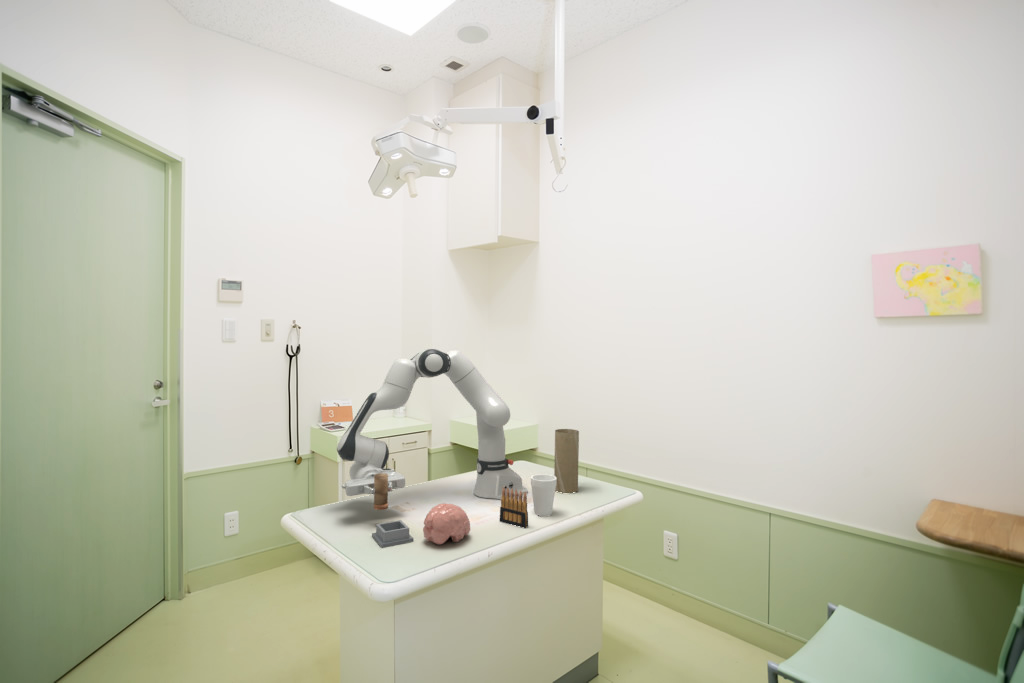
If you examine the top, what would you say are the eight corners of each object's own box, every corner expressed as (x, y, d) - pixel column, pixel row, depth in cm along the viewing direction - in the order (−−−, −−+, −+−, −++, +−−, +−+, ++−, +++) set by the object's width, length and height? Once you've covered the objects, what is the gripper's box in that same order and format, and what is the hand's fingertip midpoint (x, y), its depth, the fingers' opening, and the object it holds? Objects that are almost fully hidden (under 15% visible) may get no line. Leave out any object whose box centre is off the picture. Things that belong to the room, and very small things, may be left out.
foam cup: (524, 513, 182) (525, 477, 182) (541, 507, 189) (541, 472, 189) (545, 519, 176) (545, 482, 176) (561, 513, 183) (561, 477, 183)
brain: (446, 543, 165) (458, 505, 168) (473, 554, 156) (484, 514, 160) (409, 535, 154) (423, 495, 158) (436, 546, 145) (449, 504, 149)
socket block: (402, 530, 163) (402, 518, 163) (413, 541, 155) (413, 528, 155) (371, 536, 158) (372, 523, 158) (381, 547, 150) (381, 534, 150)
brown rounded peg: (385, 504, 172) (385, 472, 172) (389, 508, 168) (390, 475, 168) (371, 507, 169) (372, 474, 169) (376, 511, 165) (376, 477, 165)
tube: (574, 486, 217) (575, 428, 217) (580, 493, 207) (581, 433, 207) (551, 487, 216) (552, 428, 216) (556, 494, 206) (558, 433, 206)
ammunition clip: (499, 521, 173) (499, 486, 174) (502, 520, 175) (503, 485, 175) (525, 528, 167) (525, 492, 167) (528, 526, 169) (528, 491, 169)
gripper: (340, 475, 174) (350, 485, 162) (397, 467, 185) (410, 476, 173) (340, 493, 174) (349, 505, 162) (397, 485, 185) (410, 495, 173)
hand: (381, 490), depth 168 cm, fingers closed on brown rounded peg, 4 cm apart
